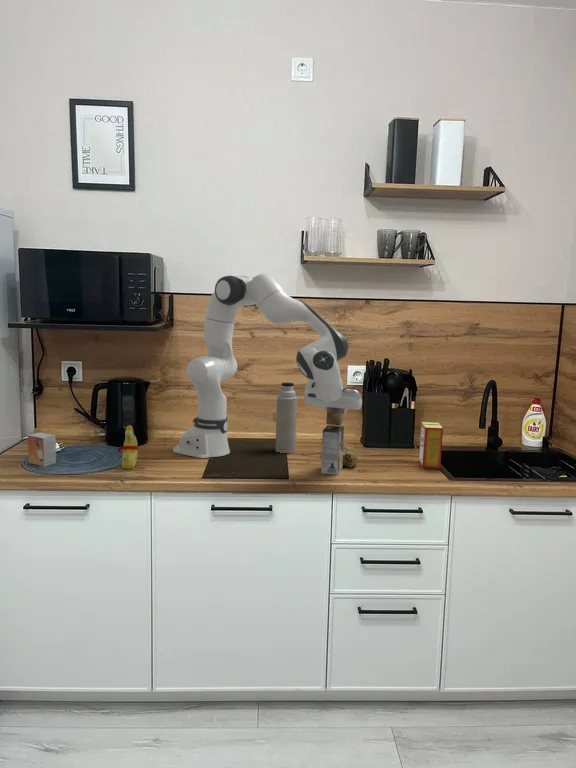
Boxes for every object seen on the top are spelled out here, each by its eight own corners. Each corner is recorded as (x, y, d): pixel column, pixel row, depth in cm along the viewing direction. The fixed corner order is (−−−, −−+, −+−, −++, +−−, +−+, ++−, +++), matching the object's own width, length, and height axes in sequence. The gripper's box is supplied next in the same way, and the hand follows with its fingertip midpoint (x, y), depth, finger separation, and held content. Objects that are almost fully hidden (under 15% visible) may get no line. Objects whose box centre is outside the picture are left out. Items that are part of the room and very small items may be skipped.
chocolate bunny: (140, 461, 215) (139, 421, 212) (134, 470, 204) (134, 428, 202) (121, 461, 214) (120, 421, 212) (114, 470, 203) (114, 428, 201)
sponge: (360, 471, 215) (357, 447, 233) (357, 453, 212) (355, 429, 231) (325, 475, 217) (325, 451, 235) (321, 457, 214) (322, 433, 232)
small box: (28, 463, 208) (27, 435, 206) (40, 459, 213) (39, 431, 211) (44, 467, 204) (43, 438, 203) (56, 463, 209) (55, 434, 208)
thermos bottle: (272, 451, 233) (273, 383, 228) (280, 447, 240) (282, 380, 235) (289, 454, 229) (292, 385, 225) (298, 450, 236) (300, 382, 232)
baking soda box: (440, 468, 217) (443, 427, 215) (422, 467, 218) (425, 426, 215) (435, 461, 226) (438, 421, 224) (418, 460, 227) (421, 420, 224)
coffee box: (325, 466, 216) (327, 424, 213) (342, 468, 214) (344, 425, 212) (320, 473, 207) (322, 429, 204) (338, 475, 205) (340, 431, 203)
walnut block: (326, 424, 207) (327, 402, 205) (329, 421, 211) (330, 399, 210) (339, 425, 205) (340, 403, 204) (343, 422, 210) (344, 401, 209)
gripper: (361, 383, 196) (365, 406, 207) (304, 378, 202) (310, 401, 213) (358, 398, 193) (362, 421, 203) (299, 393, 199) (306, 415, 210)
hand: (335, 411), depth 208 cm, fingers closed on walnut block, 5 cm apart
